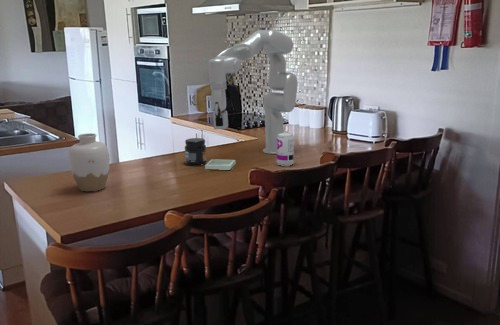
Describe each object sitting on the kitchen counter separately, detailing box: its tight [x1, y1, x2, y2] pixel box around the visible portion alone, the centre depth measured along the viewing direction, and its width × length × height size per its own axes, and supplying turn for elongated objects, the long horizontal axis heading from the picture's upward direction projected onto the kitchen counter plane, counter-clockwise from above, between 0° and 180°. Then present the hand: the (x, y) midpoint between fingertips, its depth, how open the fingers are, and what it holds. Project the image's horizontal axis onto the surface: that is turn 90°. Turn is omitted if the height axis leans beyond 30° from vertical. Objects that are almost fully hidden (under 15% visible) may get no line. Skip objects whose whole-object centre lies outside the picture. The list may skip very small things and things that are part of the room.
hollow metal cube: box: [212, 110, 229, 130], centre depth 227 cm, size 6×6×8 cm
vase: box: [68, 133, 111, 192], centre depth 200 cm, size 16×16×23 cm
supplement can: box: [276, 132, 295, 167], centre depth 233 cm, size 8×8×15 cm
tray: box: [204, 158, 237, 170], centre depth 232 cm, size 12×12×2 cm
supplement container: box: [184, 137, 208, 166], centre depth 239 cm, size 10×10×12 cm
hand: (221, 124), depth 228 cm, fingers closed on hollow metal cube, 5 cm apart
